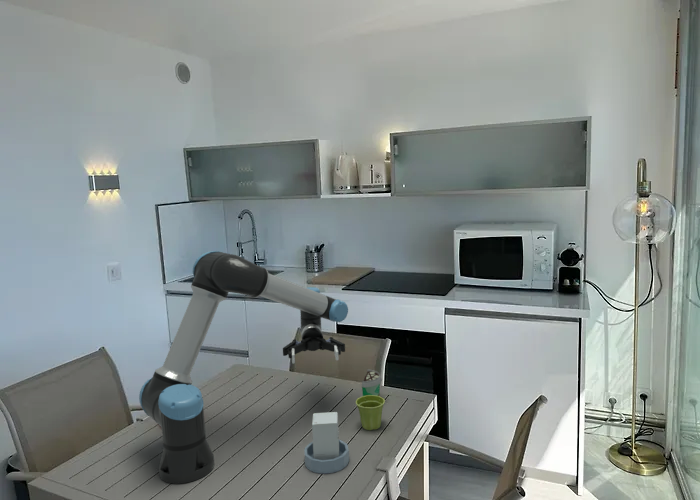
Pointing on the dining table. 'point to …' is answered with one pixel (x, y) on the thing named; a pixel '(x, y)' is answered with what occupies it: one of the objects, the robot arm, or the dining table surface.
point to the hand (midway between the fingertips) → (315, 357)
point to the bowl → (330, 464)
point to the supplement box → (325, 435)
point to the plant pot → (370, 411)
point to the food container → (371, 383)
